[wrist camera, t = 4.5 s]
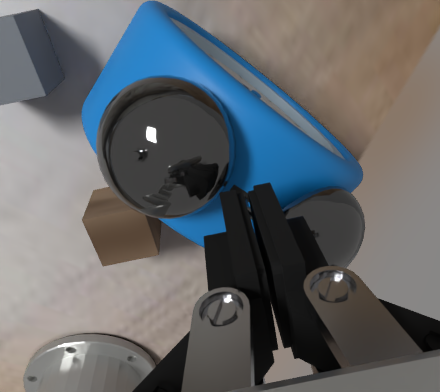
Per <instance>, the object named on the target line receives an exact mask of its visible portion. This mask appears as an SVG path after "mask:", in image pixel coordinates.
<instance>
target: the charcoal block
mask: <svg viewBox="0 0 440 392" xmlns="http://www.w3.org/2000/svg"><path fill="white" fill-rule="evenodd" d="M64 79H65V78H64V75H63V72H62V70H61V67H60V64H59V62H58V59H57V57H56V54H55V51H54V49H53V46H52V44H51V41H50V38H49V36H48V33H47V30H46V28H45V25H44V23H43V20H42V17H41V15H40V12H39V9H36V10H31V11H26V12H21V13H17V14H12V15H7V16H2V17H0V105H4V104H9V103H14V102H18V101H23V100H28V99H33V98H38V97H43V96H46V95H48V94H49V93H50V92H51V91H52V90H53V89H54V88H55V87H56V86H57V85H58V84H59V83H61V82H62V81H63V80H64Z"/></svg>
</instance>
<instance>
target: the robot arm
mask: <svg viewBox="0 0 440 392" xmlns="http://www.w3.org/2000/svg"><path fill="white" fill-rule="evenodd" d="M253 189H254V190H252V191H248V197H249V202H250V208H251V214H252V220H253V226H254V229H253V226H252V222H251V219H250V215H249V212H248V209H247V205H246V202H245V198H244V195H243V192H242V193H237V194H236V190H230V191H225V192H220V193H219V195H220V200H221V206H222V211H223V217H224V222H225V228H226V232H222V233H217V234H212V235H207V236H204V248H205V259H206V270H207V280H208V291H209V292H207V293H205V294H204V295H203V296H202V297H200V298H199V300H198V301H197V302H196V304H195V307H194V310H193V315H192V322H191V329H190V331H189V332H188V333H187V335H186V336H185V337H184V338H183V339H182V340H181V341H180V342H179V343H178V344H177V345H176V346H175V347H174V348H173V349H172V350H171V351H170V352H169V353H168V354H167V355H166V357H165V358H164V359H163V360H162V361H161V362H160V363H159V364H158V365H157V366H156V364H155V362H154V361H153V359H152V358H151V357H150V355H149V354H147V353H146V352H145V351H144V350H143V349H142V348H140V347H138V346H136V345H135V344H133V343H131V342H129V341H126V340H123V339H121V338H117V337H113V336H108V335H100V334H80V335H74V336H68V337H64V338H61V339H58V340H55V341H53V342H51V343H49V344H47V345H45V346H43V347H42V348H41V349H40V350H38V351H37V352H36V353H35V354H34V355H33V357H32V358H31V359H30V361H29V364H28V366H27V368H26V371H25V374H24V378H23V381H24V388H25V391H26V392H440V321H438V320H435V319H433V318H430V317H427V316H424V315H422V314H419V313H416V312H414V311H411V310H408V309H405V308H403V307H400V306H397V305H395V304H392V303H389V302H387V301H384V300H381V299H378V298H377V297H376V296H375V295H374V294H373V293H372V291H371V290H370V289H369V288H368V287H367V286H366V284H365V283H364V282H363V281H362V280H361V279H360V278H359V276H357V275H356V274H355V273H354V272H353V271H350V270H348V269H346V268H343V267H339V266H329V265H328V263H327V261H326V259H325V257H324V255H323V253H322V251H321V249H320V247H319V245H318V243H317V241H316V239H315V237H314V235H313V234H312V232H311V230H310V228H309V226H308V224H307V222H306V220H305V218H304V217H303V216H300V217H295V218H290V219H286V217H285V215H284V213H283V211H282V208H281V206H280V204H279V201H278V199H277V197H276V195H275V192H274V190H273V188H272V185H271V183H270V182H269V183H264V184H259V185H254V186H253ZM254 232H255V233H254ZM270 300H271V301H270ZM271 304H272V307H271ZM272 308H273V311H274V315H275V318H276V322H277V325H278V329H279V332H280V336H281V340H282V343H283V346H284V348H288V347H291V349H292V352H293V355H294V359H296V358H300V359H302V360H304V361H305V362H307V363H309V364H311V368H312V371H313V374H312V375H307V376H302V377H297V378H292V379H288V380H282V381H277V382H272V383H267V384H265V379H264V376H265V374H266V373H267V372H268V370H269V369H270V367H271V366H272V365H273V363H274V358H273V353H272V351H273V350H278V344H277V338H276V332H275V326H274V320H273V314H272Z"/></svg>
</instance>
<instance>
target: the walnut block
mask: <svg viewBox="0 0 440 392" xmlns="http://www.w3.org/2000/svg"><path fill="white" fill-rule="evenodd" d="M82 221H83V224H84V226H85V228H86V230H87V232H88V235H89V237H90V239H91V241H92V243H93V246H94V248H95V250H96V252H97V254H98V257H99V259H100V261H101V263H102V265H103V266H107V265H112V264H117V263H122V262H127V261H132V260H136V259H141V258H146V257H151V256H156V255H159V247H160V233H161V221H160V220H159V219H158V218H154V217H151V216H147V215H144V214H141V213H139V212H137V211H135V210H133V209H131V208H130V207H128V206H127V205H126V204H124V203H123V202H122V201H121V200H120V199H119V198H118V197H117V196H116V195H115V194H114V193H113V192H112V190H111V189H110V187H107V188H102V189H97V190H93V193H92V196H91V198H90V201H89V203H88V206H87V208H86V211H85V214H84V216H83V219H82Z"/></svg>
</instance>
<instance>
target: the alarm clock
mask: <svg viewBox="0 0 440 392" xmlns="http://www.w3.org/2000/svg"><path fill="white" fill-rule="evenodd" d="M82 123H83V127H84V131H85V134H86V136H87V139H88V141H89V143H90V145H91V147H92V148H93V150H94V152H95V153H96V155H97V159H98V163H99V167H100V170H101V172H102V175H103V177H104V179H105V181H106V183H107V184H108V186H109V187H110V189H111V190H112V192H113V193H114V194H115V195H116V196H117V197H118V198H119V199H120V200H121V201H122V202H123V203H124V204H126V205H127V206H128V207H130V208H131V209H133V210H135V211H137V212H139V213H141V214H144V215H147V216H151V217H154V218H158V219H159V220H161V221H162V222H164V223H165V224H166V225H168V226H169V227H171V228H172V229H173V230H175V231H177V232H178V233H180V234H181V235H183V236H184V237H186V238H188V239H189V240H191V241H193V242H195V243H196V244H198V245H200V246H202V247H204V236H207V235H212V234H217V233H222V232H226V228H225V222H224V217H223V211H222V206H221V200H220V195H219V193H220V192H225V191H230V190H236V194H237V193H242V192H243V195H244V198H245V202H246V205H247V209H248V212H249V215H250V219H251V222H252V226H253V220H252V214H251V208H250V202H249V197H248V191H252V190H254V189H253V186H254V185H259V184H264V183H269V182H270V183H271V185H272V188H273V190H274V192H275V195H276V197H277V199H278V201H279V204H280V206H281V208H282V211H283V213H284V215H285V217H286V219H290V218H295V217H300V216H303V217H304V218H305V220H306V222H307V224H308V226H309V228H310V230H311V232H312V234H313V235H314V237H315V239H316V241H317V243H318V245H319V247H320V249H321V251H322V253H323V255H324V257H325V259H326V261H327V263H328V265H329V266H339V267H343V268H347V266H348V265H349V264H350V263H351V262H352V260H353V259H354V258H355V256H356V255H357V253H358V251H359V248H360V246H361V244H362V241H363V237H364V230H365V222H364V215H363V212H362V209H361V207H360V205H359V203H358V202H357V200H356V199H355V197H354V196H353V195H352V194H351V192H352V191H353V190H354V189H355V188H356V187H357V186H358V185H359V184H360V183H361V181H362V178H363V171H362V168H361V166H360V164H359V163H358V162H357V160H356V159H355V158H354V157H353V155H352V154H351V153H350V152H349V151H348V150H347V149H346V148H345V147H344V146H343V145H342V144H341V143H340V142H339V141H338V140H337V139H336V138H335V137H334V136H333V135H332V134H331V133H330V132H329V131H328V130H327V129H326V128H325V127H323V126H322V125H321V124H320V123H319V122H318V121H317V120H316V119H315V118H314V117H312V116H311V115H310V114H309V113H308V112H307V111H306V110H304V109H303V108H302V107H301V106H300V105H299V104H298V103H296V102H295V101H294V100H293V99H292V98H291V97H289V96H288V95H287V94H286V93H285V92H283V91H282V90H281V89H280V88H279V87H277V86H276V85H275V84H274V83H273V82H271V81H270V80H269V79H268V78H266V77H265V76H264V75H263V74H261V73H260V72H259V71H258V70H257V69H255V68H254V67H253V66H251V65H250V64H249V63H248V62H246V61H245V60H244V59H243V58H241V57H240V56H239V55H237V54H236V53H235V52H234V51H232V50H231V49H230V48H228V47H227V46H226V45H224V44H223V43H222V42H220V41H219V40H218V39H216V38H215V37H214V36H212V35H211V34H209V33H208V32H207V31H205V30H204V29H203V28H201V27H200V26H198V25H197V24H195V23H194V22H192V21H191V20H190V19H188V18H187V17H185V16H183V15H182V14H180V13H179V12H177V11H175V10H174V9H172V8H170V7H168V6H166V5H164V4H162V3H160V2H158V1H147V2H145V3H143V4H142V5H141V6H140V7H139V9H138V11H137V12H136V14H135V16H134V17H133V19H132V21H131V23H130V24H129V26H128V28H127V29H126V31H125V33H124V35H123V36H122V38H121V40H120V41H119V43H118V45H117V47H116V48H115V50H114V52H113V53H112V55H111V57H110V59H109V60H108V62H107V64H106V65H105V67H104V69H103V71H102V72H101V74H100V76H99V77H98V79H97V81H96V83H95V84H94V86H93V88H92V89H91V91H90V93H89V95H88V96H87V98H86V100H85V102H84V104H83V108H82ZM253 229H254V226H253ZM254 233H255V232H254Z"/></svg>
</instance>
